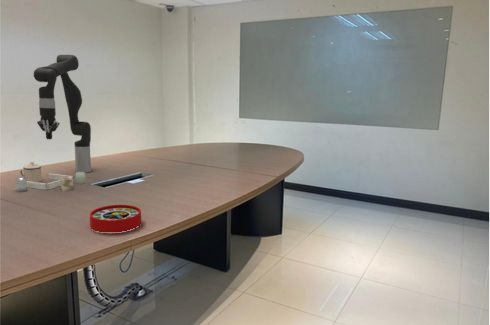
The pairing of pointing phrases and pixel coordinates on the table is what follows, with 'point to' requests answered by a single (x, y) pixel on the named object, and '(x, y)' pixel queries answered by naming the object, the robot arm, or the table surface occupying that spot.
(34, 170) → the teacup with lid
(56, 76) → the robot arm
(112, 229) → the toy clock
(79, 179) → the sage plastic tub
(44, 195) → the table surface
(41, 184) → the sorting bay
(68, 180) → the birch block
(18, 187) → the metal cylinder
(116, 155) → the table surface
